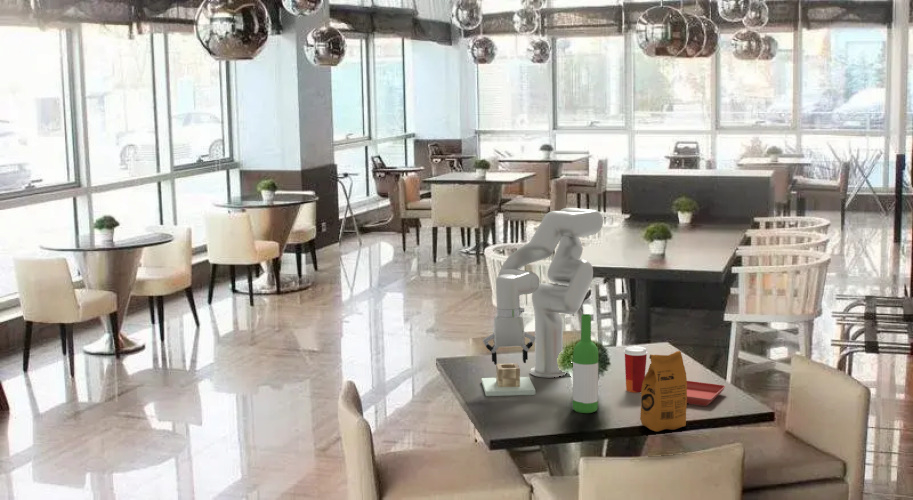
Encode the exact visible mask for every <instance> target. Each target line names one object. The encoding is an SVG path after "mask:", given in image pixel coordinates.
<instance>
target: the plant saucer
mask: <svg viewBox="0 0 913 500" xmlns="http://www.w3.org/2000/svg"><path fill="white" fill-rule="evenodd" d="M725 388H726V385H723V384H716V383H707V382H699V381H693V380H691V381H690V380H687V403H689V404H688V405H693V404H695V405H694V406H703V407H707V406H708V405H709V404H710V403H712V402H713V401H714V400H715V399H716V398H717V397H718V396H720V394H721V393H722V392H723V391H724V390H725Z"/></svg>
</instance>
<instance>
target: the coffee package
mask: <svg viewBox="0 0 913 500" xmlns="http://www.w3.org/2000/svg"><path fill="white" fill-rule="evenodd" d="M648 358H649V360H650V364H649V365H648V369H647V372H646V373H645V378H644V381H643V383H642V389H641V392H640V394H641V395H640V415H639V420H640V422H641V425H642V426H644V427H646V428H647V429H649V430H650V431H654V432H661V431H664V430H672V431H673V430H677V429H680V428H682V427H686V426H687V425H686V424H687V408H688V407H687V405H688V404H687V381H688V380H687V372H686V367H685V365H684V358H683V355H682V351H681V350H678V351H674V352H673V353H671V354H664V355H663V354H649V357H648Z"/></svg>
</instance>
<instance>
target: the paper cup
mask: <svg viewBox="0 0 913 500" xmlns="http://www.w3.org/2000/svg"><path fill="white" fill-rule="evenodd" d="M623 353H624V367H625V369H624V370H625V387H626V388H625V389H626V391H627V392H629V393H634V394H635V393H636V394H637V393H639V394H641V389H642V383H643V381H644V378H645V375H646V368H647V355H648V351H647V348H646V347H644V346H638V345H634V346H627V347H625V348H624V351H623Z"/></svg>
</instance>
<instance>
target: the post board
mask: <svg viewBox="0 0 913 500" xmlns="http://www.w3.org/2000/svg"><path fill="white" fill-rule="evenodd" d="M481 384H482V388H483V391H484V394H485V396H486V397H494V396H495V397H498V396H499V397H501V396H502V397H504V396H534V395H536V389H535V386H534V384H533V382H532V381H531V379H530V376H520V387H498V384H497V382H496V377H482V378H481Z"/></svg>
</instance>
